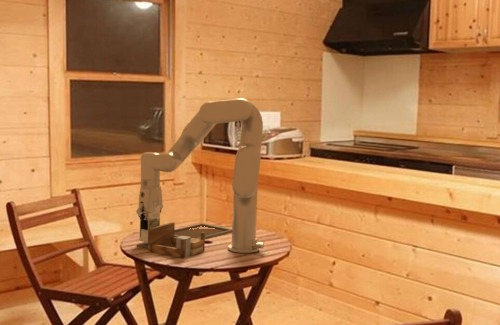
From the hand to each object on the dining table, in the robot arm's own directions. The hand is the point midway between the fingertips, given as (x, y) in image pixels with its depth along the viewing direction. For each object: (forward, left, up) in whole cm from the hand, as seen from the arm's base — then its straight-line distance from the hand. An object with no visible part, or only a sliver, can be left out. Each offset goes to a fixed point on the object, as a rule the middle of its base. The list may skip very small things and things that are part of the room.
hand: (149, 227), depth 233 cm
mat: (0, 0, -7) cm, 7 cm away
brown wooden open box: (-13, 0, -7) cm, 15 cm away
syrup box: (0, 0, -6) cm, 6 cm away
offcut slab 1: (-20, -2, -5) cm, 21 cm away
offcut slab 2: (-20, -2, -8) cm, 21 cm away
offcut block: (-19, +4, -8) cm, 21 cm away
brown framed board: (-4, -31, -8) cm, 32 cm away
